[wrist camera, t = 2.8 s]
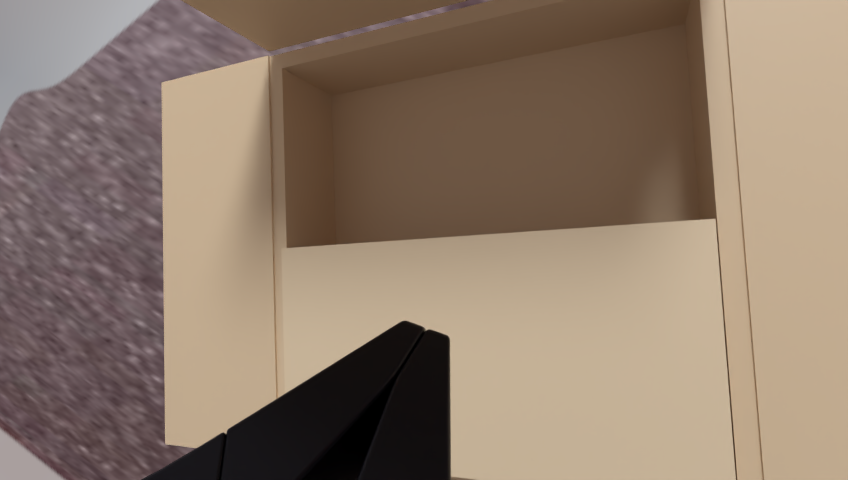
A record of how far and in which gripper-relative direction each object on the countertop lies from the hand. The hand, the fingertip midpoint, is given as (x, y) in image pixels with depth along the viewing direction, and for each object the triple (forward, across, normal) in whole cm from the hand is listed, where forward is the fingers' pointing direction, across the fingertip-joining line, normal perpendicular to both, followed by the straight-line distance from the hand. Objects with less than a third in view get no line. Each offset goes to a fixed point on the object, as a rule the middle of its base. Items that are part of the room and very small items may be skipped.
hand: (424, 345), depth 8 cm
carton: (+11, 0, +5) cm, 12 cm away
